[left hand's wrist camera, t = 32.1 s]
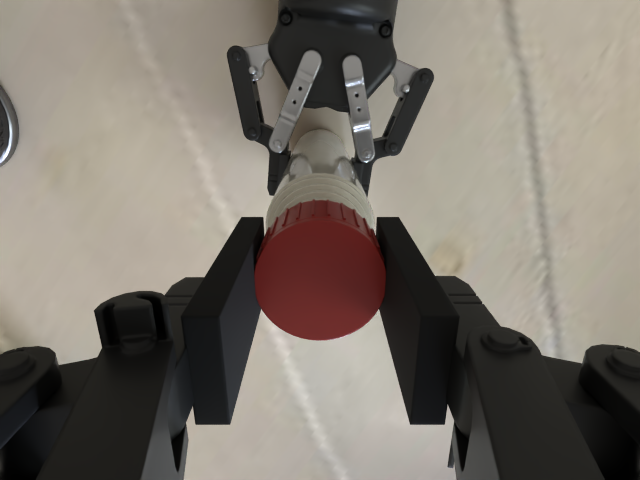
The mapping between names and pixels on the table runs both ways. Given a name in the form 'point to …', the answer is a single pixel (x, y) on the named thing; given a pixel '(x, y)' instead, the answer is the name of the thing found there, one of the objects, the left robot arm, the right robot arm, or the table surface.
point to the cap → (320, 271)
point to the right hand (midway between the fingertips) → (315, 204)
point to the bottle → (320, 177)
